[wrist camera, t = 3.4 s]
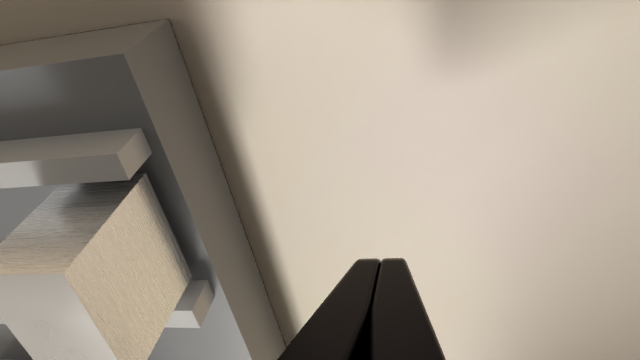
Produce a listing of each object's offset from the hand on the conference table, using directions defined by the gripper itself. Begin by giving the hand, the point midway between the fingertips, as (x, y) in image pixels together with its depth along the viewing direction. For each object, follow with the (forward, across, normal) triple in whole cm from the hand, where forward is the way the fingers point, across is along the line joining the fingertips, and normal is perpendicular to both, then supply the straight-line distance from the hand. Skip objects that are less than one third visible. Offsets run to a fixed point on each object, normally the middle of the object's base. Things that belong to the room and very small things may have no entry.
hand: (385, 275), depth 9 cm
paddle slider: (+2, +6, 0) cm, 6 cm away
